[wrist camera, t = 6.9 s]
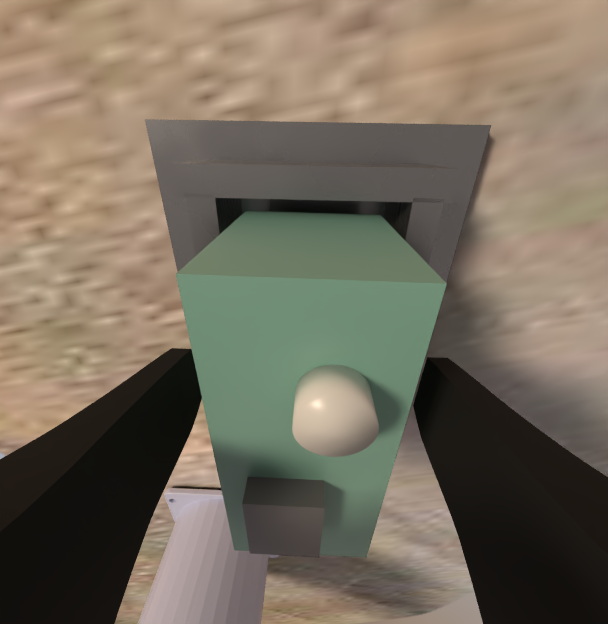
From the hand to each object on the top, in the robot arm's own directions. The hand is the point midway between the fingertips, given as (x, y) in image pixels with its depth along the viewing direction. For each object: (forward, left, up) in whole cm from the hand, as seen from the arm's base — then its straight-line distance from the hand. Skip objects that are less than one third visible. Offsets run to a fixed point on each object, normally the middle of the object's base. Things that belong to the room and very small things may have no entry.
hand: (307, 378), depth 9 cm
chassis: (0, 0, -5) cm, 5 cm away
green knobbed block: (0, 0, -2) cm, 2 cm away
